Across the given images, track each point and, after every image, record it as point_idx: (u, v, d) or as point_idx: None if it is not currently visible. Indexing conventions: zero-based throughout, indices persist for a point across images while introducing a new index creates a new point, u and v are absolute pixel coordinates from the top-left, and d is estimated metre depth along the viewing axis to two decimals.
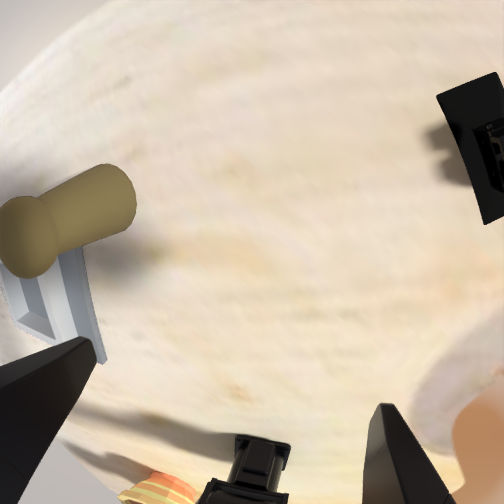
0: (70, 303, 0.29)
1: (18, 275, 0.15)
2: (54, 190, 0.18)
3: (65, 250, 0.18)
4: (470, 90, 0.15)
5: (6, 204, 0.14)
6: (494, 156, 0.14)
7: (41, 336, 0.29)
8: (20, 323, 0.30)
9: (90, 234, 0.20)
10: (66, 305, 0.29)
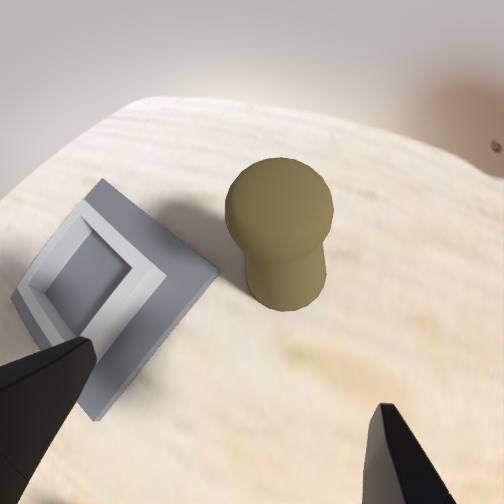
0: (126, 331, 0.22)
1: (257, 229, 0.13)
2: None
3: (283, 268, 0.16)
4: None
5: None
6: None
7: (47, 327, 0.21)
8: (30, 291, 0.22)
9: (300, 279, 0.18)
10: (120, 329, 0.22)
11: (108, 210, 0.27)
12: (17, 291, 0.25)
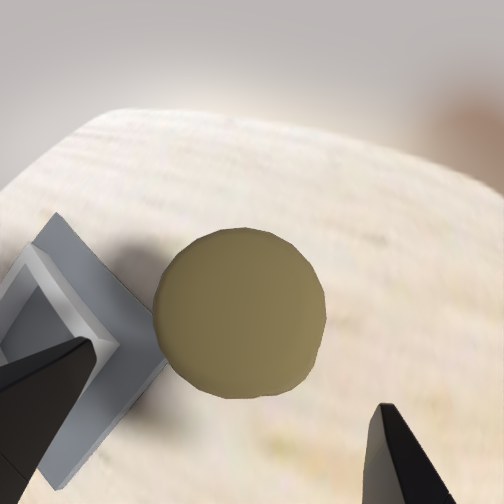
0: (79, 405, 0.17)
1: (194, 366, 0.08)
2: None
3: None
4: None
5: (277, 237, 0.09)
6: None
7: None
8: None
9: None
10: None
11: (59, 254, 0.21)
12: None
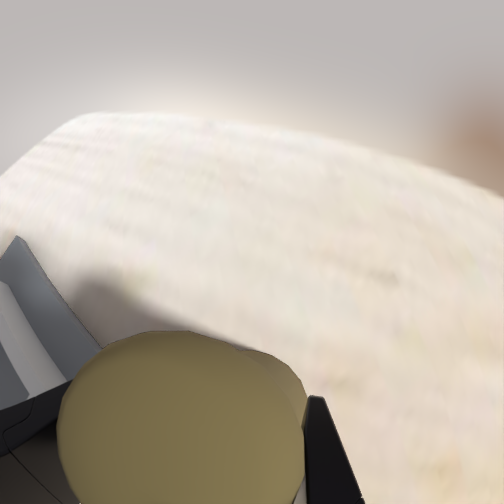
0: None
1: None
2: None
3: None
4: None
5: (228, 356, 0.05)
6: None
7: None
8: None
9: None
10: None
11: (18, 285, 0.17)
12: None
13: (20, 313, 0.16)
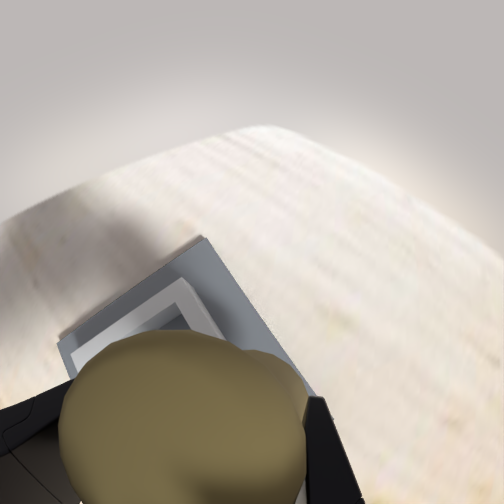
0: None
1: None
2: None
3: None
4: None
5: (230, 354, 0.05)
6: None
7: None
8: None
9: None
10: None
11: (209, 292, 0.22)
12: (67, 341, 0.22)
13: (215, 323, 0.21)
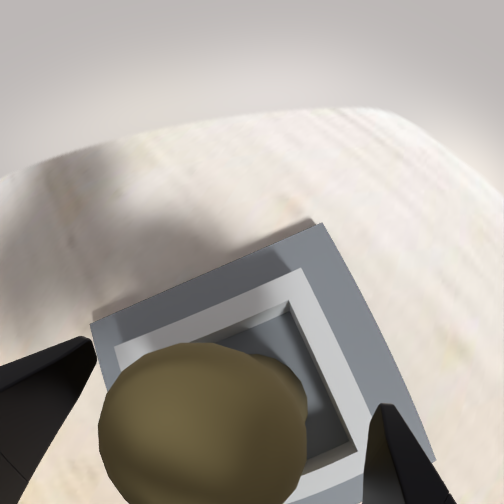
0: None
1: None
2: None
3: None
4: None
5: (247, 364, 0.07)
6: None
7: None
8: None
9: None
10: None
11: (322, 293, 0.17)
12: (105, 324, 0.18)
13: None
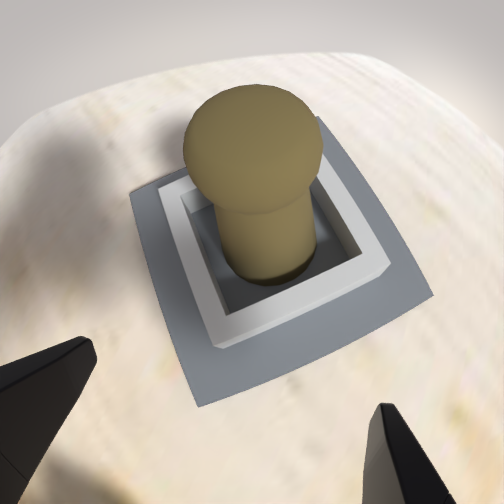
0: (303, 319, 0.18)
1: (220, 161, 0.10)
2: None
3: (260, 223, 0.13)
4: None
5: None
6: None
7: (196, 269, 0.17)
8: (181, 206, 0.19)
9: (284, 242, 0.15)
10: (299, 314, 0.18)
11: None
12: (144, 191, 0.23)
13: None
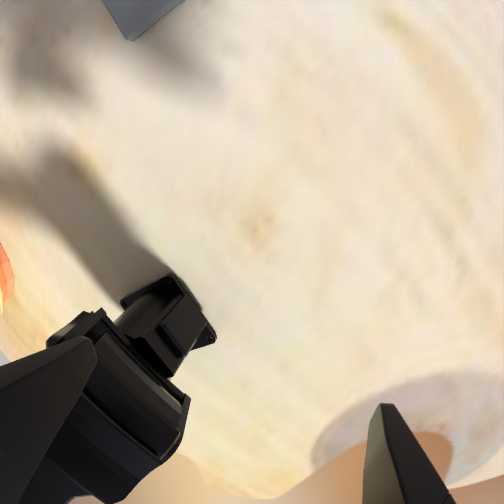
0: None
1: None
2: None
3: None
4: None
5: None
6: None
7: None
8: None
9: None
10: None
11: None
12: None
13: None
